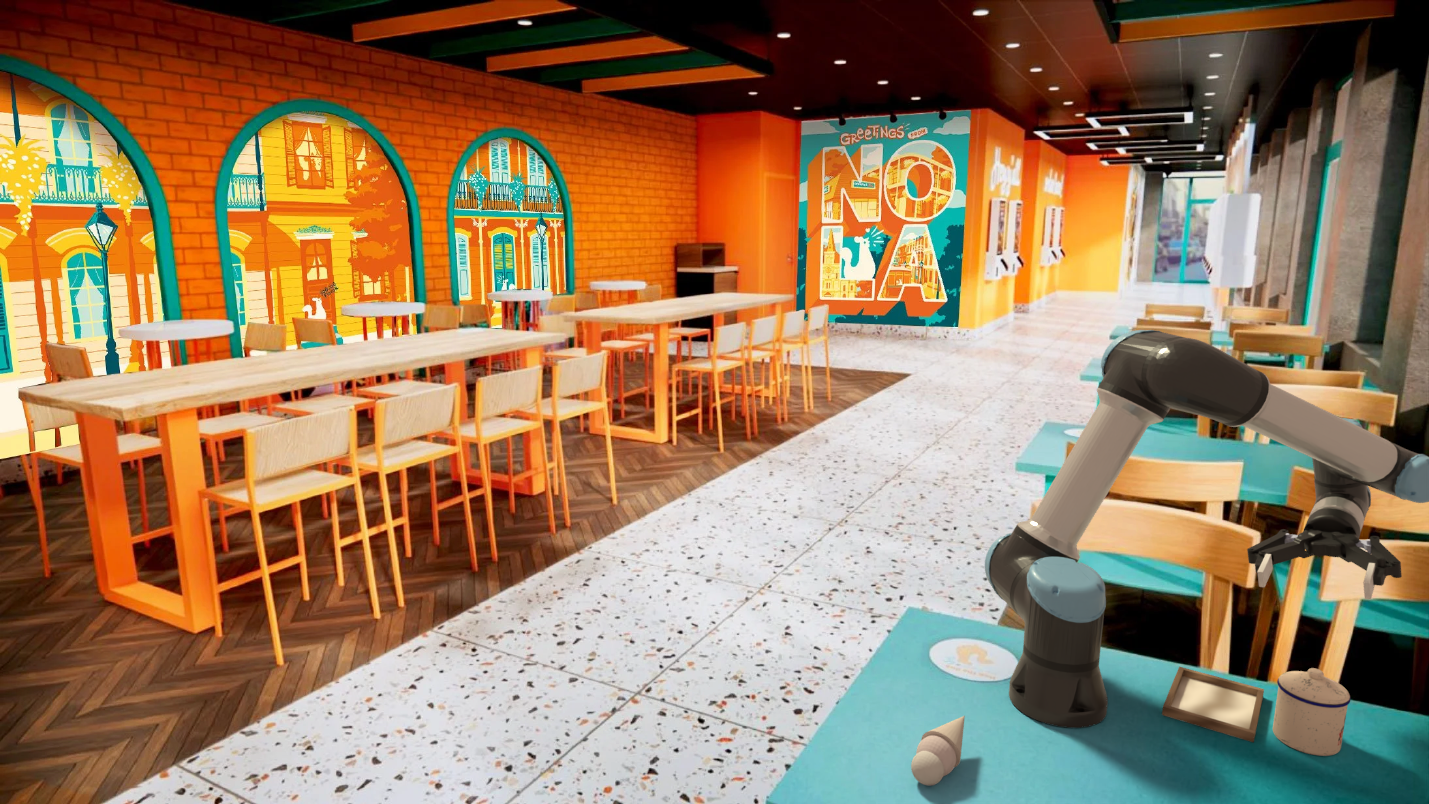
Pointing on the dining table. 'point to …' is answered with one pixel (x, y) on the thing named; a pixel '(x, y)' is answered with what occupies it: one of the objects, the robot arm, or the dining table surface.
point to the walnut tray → (1214, 703)
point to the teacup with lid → (1310, 712)
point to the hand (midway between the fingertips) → (1312, 585)
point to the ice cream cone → (938, 752)
